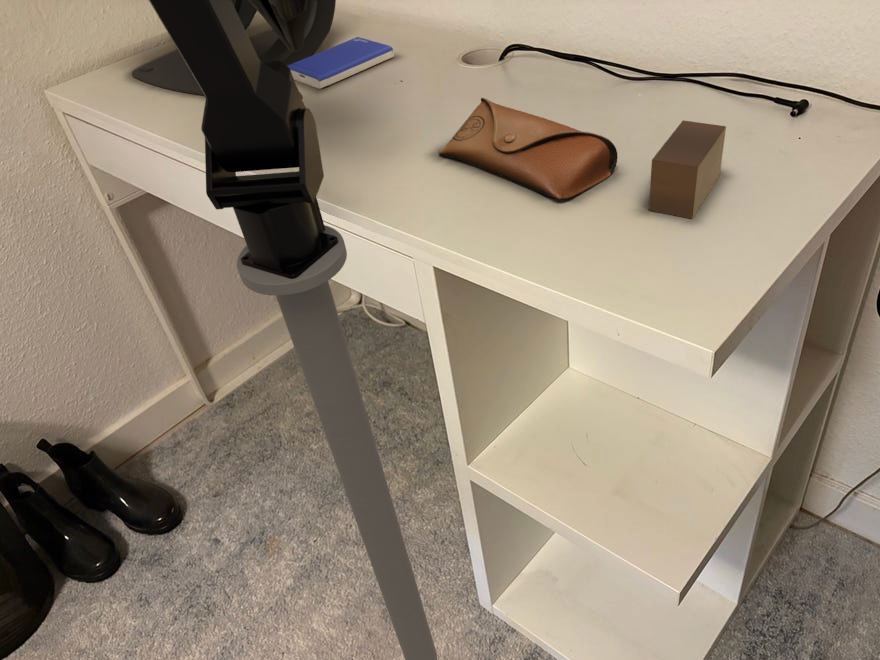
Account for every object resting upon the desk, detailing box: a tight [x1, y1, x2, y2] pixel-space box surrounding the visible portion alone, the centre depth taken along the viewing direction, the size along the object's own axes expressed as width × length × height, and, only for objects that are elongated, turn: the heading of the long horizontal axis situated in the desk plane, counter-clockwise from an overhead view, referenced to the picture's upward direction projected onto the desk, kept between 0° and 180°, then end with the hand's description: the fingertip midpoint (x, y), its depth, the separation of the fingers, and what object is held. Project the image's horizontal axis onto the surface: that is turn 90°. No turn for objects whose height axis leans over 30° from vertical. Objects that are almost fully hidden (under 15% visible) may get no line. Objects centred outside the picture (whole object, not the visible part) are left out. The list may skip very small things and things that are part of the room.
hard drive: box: [288, 36, 395, 90], centre depth 100 cm, size 2×8×12 cm
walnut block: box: [648, 120, 727, 219], centre depth 66 cm, size 8×4×5 cm, turn 150°
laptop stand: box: [131, 0, 337, 96], centre depth 102 cm, size 26×24×16 cm
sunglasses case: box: [437, 97, 619, 201], centre depth 74 cm, size 18×7×7 cm, turn 46°
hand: (296, 50), depth 72 cm, fingers closed
